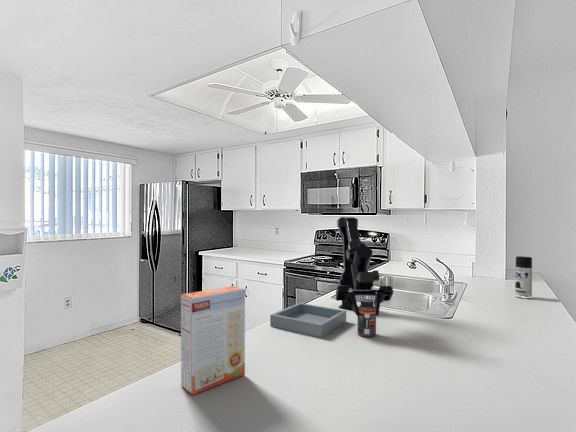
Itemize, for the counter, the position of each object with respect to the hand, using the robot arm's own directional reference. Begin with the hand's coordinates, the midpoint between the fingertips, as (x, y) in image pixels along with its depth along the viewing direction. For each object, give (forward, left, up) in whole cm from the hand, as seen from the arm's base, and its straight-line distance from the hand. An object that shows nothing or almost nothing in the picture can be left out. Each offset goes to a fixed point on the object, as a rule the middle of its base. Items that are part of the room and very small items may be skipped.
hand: (367, 315), depth 108 cm
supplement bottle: (-1, -1, -7) cm, 7 cm away
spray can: (-96, +45, -7) cm, 106 cm away
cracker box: (+49, -20, -7) cm, 53 cm away
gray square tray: (0, -22, -7) cm, 23 cm away
